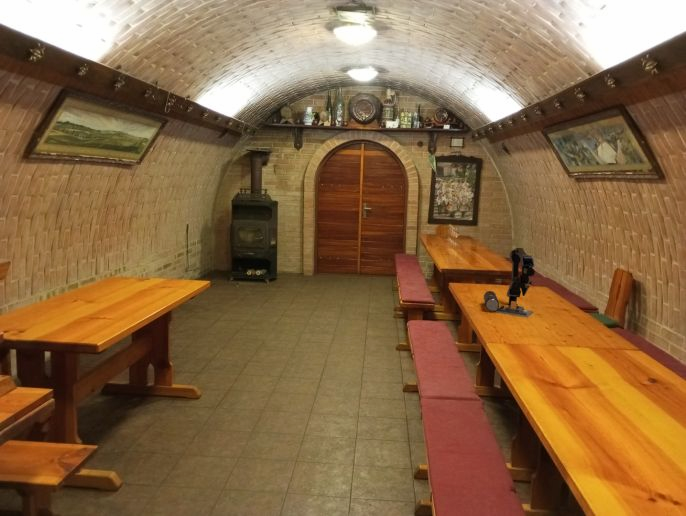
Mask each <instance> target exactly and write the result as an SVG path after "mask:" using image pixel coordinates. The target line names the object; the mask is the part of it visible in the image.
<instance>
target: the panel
mask: <svg viewBox="0 0 686 516" xmlns="http://www.w3.org/2000/svg"><path fill="white" fill-rule="evenodd" d="M506 307H507V306H504V307H503V308H501V309H502V310H505V308H506ZM524 310H526V311H527V312H524ZM524 310H523V311H522V312H520V313H527V315H522V314H516V313H510V312H503V311H497V309H496V310H495V311H494V312H495V313H498V312H499V314H504V315H512V316H516V315H517V317H523V318H528V316H529V317H530V316H531V315H533V314H534V311H533V310H528V309H524ZM532 313H533V314H532Z"/></svg>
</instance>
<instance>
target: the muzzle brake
mask: <svg viewBox="0 0 686 516" xmlns="http://www.w3.org/2000/svg"><path fill="white" fill-rule="evenodd" d="M483 299H484V300H483V301H484V307H485V309H486V310H488V311H491V312H495V310H497V309H498V308H499V307H500V301H499V299H498V297H497V295H496V293H495V292H494V291H492V290H487V291H485V293H484V294H483Z"/></svg>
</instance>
